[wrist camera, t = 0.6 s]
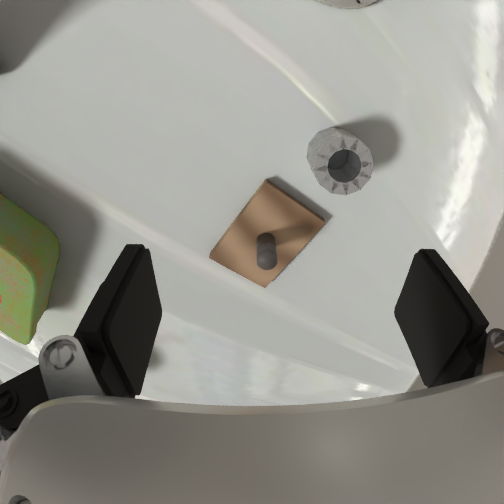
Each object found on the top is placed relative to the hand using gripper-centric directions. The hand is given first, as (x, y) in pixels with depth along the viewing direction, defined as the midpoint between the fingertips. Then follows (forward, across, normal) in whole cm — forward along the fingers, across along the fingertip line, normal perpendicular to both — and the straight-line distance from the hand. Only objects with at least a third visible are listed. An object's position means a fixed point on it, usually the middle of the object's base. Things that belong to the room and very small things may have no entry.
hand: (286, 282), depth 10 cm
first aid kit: (+30, +49, +19) cm, 61 cm away
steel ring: (+29, -10, +3) cm, 31 cm away
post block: (+30, -1, +15) cm, 33 cm away
